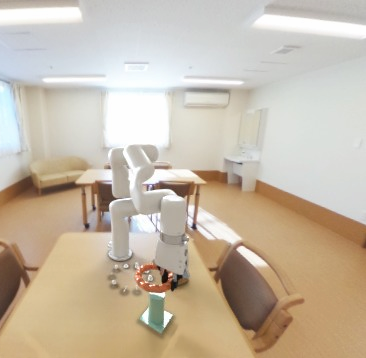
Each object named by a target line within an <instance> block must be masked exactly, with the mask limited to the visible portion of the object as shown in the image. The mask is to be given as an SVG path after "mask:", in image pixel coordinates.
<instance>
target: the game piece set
mask: <svg viewBox="0 0 366 358" xmlns="http://www.w3.org/2000/svg"><path fill="white" fill-rule="evenodd" d="M134 264H135V265H134V269H136V270H137V269H138V268H139V267H140V265H139V262H137V261H136V262H135V263H134ZM118 267H119V265H118V264H115V265H114V269H116V270H118ZM123 268H124V269H127V268H129V265H128V263H124V264H123ZM144 273H145V274H148V273H150V270H149V271H145V272H144ZM110 274H111V275H113V272H111V273H110ZM153 280H154V279H153V275H152V274H148V277H147V281H146V282H147V283H149V284H150V282H152V281H153ZM149 281H150V282H149ZM111 284H112V285H113V286H114V285H117V281H116V279H113V280H112V279H111ZM127 287H128V283H126V284H125V288H124V290H122V292H126V289H127ZM138 288H139V286H138V284H135V291H138Z"/></svg>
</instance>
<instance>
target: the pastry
mask: <svg viewBox="0 0 366 358" xmlns="http://www.w3.org/2000/svg"><path fill="white" fill-rule="evenodd" d="M188 280H189V278H182V279H180V280H178V286H181V285H183V284H185V283H187V281H188Z"/></svg>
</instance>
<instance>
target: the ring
mask: <svg viewBox="0 0 366 358" xmlns="http://www.w3.org/2000/svg"><path fill="white" fill-rule="evenodd" d="M145 271H149V272H150V271H159V270H158V268H157V266H155V265H154V264H153V263H152V262H147V263H144V264H141V265H139V268H138V269H137V268H136V270H135V272H134V281H135V283H136V285H137V286H138V288H140V289H142V290H144V291H146V292H147V293H149V292H150V293H163V292H164V293H166V292H169V291H171V281H172V279H173V272H171V271H169V270H167V272H168V273H169V274H168V280H167V281H166V283H163V284H162V283H159V284H154V283H150V282H149V283H147V282H148V281H145V279H144V278H143V274H144V273H145Z"/></svg>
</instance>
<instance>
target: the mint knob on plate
mask: <svg viewBox="0 0 366 358" xmlns="http://www.w3.org/2000/svg"><path fill="white" fill-rule="evenodd" d="M165 301H166V292H163V293H150V292H148V307H147V309H146V310H144V312H143V313H142V315H141V316H140V317H139V318H138V320H139V321H141V322H142V323H143V324H146V325H147V326H148V327H150V328H151V329H153V330H155V331H156V332H158V333H159V334H162V333H163V332H164V330H165V328H166V327H167V325H168V324H169V322H170V321H171V319H172V318H173V314H172V313H170V312H169V311H166V310H165V307H166V306H165V304H166V302H165Z"/></svg>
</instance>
